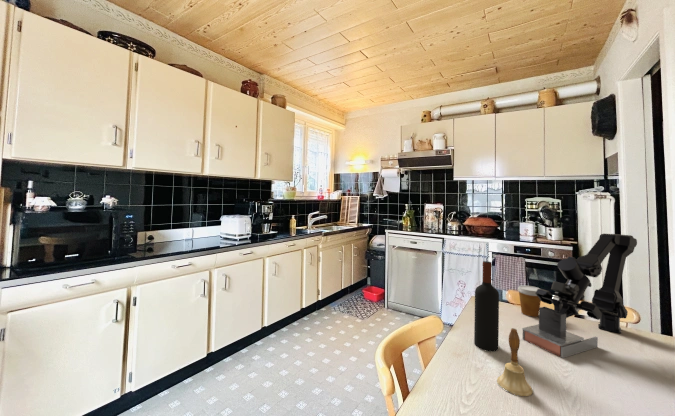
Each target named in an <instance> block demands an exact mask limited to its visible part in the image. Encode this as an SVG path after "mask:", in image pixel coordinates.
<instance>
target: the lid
mask: <svg viewBox="0 0 675 416" xmlns="http://www.w3.org/2000/svg"><path fill="white" fill-rule="evenodd" d="M538 319H539V320H538V321H539V322H538V324H534V325H529V326H526V327H522V328H521V329H522V331H523V330H524V331H527V332H529V333H531V334H534V335H536V336H538V337H540V338H543V339H545V340H547V341H550V342H552V343H554V344H556V345H559V346H564V345H567V344H571V343H574V342H578V341H582V340H585V337H583V336H580V335H577V334H575V333H572V332H569V331H568V330H567V318H566V314H565V313H562V312H559V311H556V310H554V308H551V307H550V308H549V307H547V306H540V308H539V314H538Z"/></svg>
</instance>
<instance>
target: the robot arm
mask: <svg viewBox="0 0 675 416" xmlns="http://www.w3.org/2000/svg"><path fill="white" fill-rule="evenodd" d="M637 244H638V240H637V238H634V236H633V235H630V234H618V233H617V234H616V233H601V234H599V237H598V240H597V241H596V242H595V243H594V245H593V246H592V247H591V248H590V250H589V251H588V252H587V253H586V254H584V255H581V256H579V257H577V259H576V257H573V256H568V257H567V258H564V259H561V260H560V261H558V262H557V269H559V271H560V272H561V274H562V276H563V277H564V278H565V279H567V281H566V282H565V283H564V282H558V281H554V280H553V281H552V284H551V288H550V290H551V291H554V293H555V295H554V294H552V293H551V291H550V290H546V289H543V288H540V289H538V290H537V291H536V295H537V296H538V298H539V299H540V300H541V302H542V303H544V304H548V305H553V310H556V311H559V312H562V313H565V314H566V319H567V318H570V317H573V316H579V315H580V314H579V312H580V310H582V311H585V312H586V315H587V316H588V317H589V318H592V319H595V320H597V321H599V323H600V324H598V329H600V330H604V331H607V332H608V331H609V332H613V333H616V334H622V332H623V331H622V327H621V323H620V322H621V319H627V317H628V310H627V308H626V307H625V304H624V300H623V297H622V296H621V295H622V294H620V288H621V283H622V278H623V274H624V273H623V272H624V269H625V265H626V259H627V257H628V256H630V255H631V254H633V253H634V252H635V248H636V247H637ZM608 255H609V256H608ZM607 257H608V260H607V264H606V269H605V274H604V278H603V282H602V286H601V287H600V288H598V289H595V290H594V293H593V297H592V299H591V302H589V301H587V300H584V298H585V295H584V294H585V292H586V290H587V288H588V287H590V288H591V287H592V283H591V280H590V278H598V277H599V276H600V275H601V274H602V271H603V267H602V263H603V262H604V261H605V259H606V258H607ZM589 277H590V278H589ZM581 299H583V300H581Z"/></svg>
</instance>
